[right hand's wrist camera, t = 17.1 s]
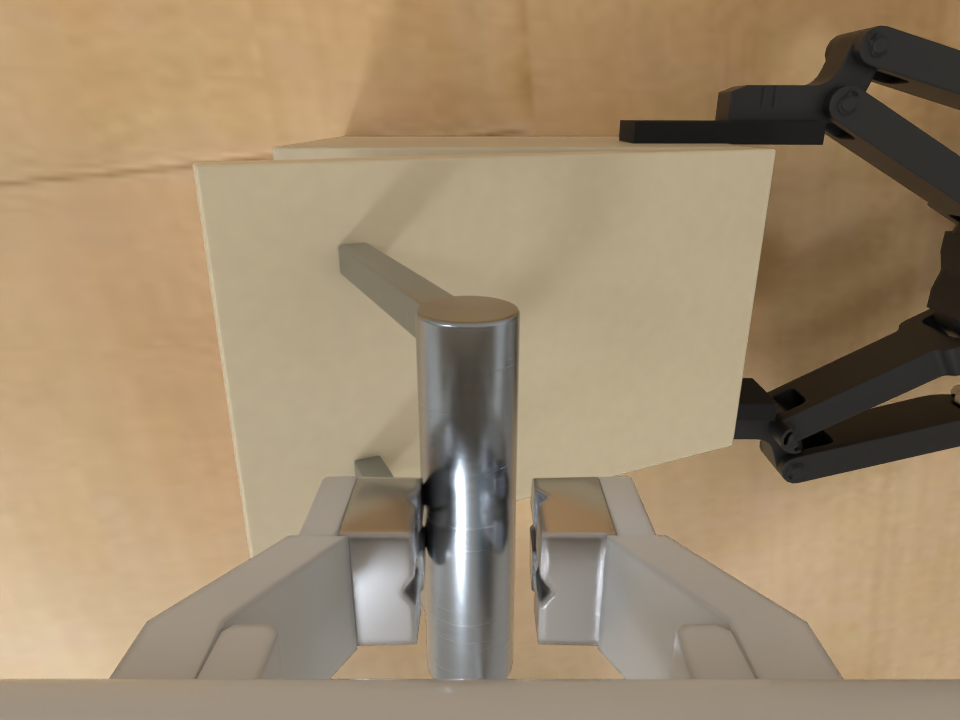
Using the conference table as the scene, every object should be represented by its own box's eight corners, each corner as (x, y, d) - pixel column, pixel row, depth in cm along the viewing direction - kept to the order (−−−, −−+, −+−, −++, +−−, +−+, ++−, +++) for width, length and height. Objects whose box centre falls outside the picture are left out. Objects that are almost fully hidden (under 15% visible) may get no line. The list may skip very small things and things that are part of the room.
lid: (247, 548, 17) (309, 842, 10) (191, 162, 14) (226, 209, 7) (713, 434, 24) (948, 570, 17) (752, 146, 20) (1068, 164, 13)
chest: (356, 336, 34) (300, 432, 24) (342, 136, 31) (270, 147, 20) (647, 336, 34) (718, 433, 24) (665, 135, 31) (758, 147, 20)
